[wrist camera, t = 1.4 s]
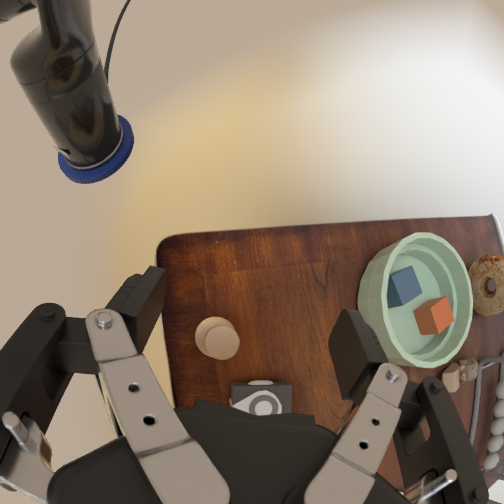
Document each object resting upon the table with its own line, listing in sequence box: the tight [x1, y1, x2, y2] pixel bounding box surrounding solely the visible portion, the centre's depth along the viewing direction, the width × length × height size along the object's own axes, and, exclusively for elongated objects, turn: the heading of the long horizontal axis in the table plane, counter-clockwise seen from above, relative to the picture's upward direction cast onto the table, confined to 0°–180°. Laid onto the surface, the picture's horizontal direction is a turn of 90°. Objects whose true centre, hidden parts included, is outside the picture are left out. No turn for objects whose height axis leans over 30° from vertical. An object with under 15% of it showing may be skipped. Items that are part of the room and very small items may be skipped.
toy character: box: [442, 358, 478, 392], centre depth 33 cm, size 4×8×6 cm, turn 100°
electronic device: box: [230, 380, 292, 415], centre depth 28 cm, size 7×3×15 cm
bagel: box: [468, 254, 504, 316], centre depth 35 cm, size 10×4×10 cm, turn 11°
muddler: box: [195, 317, 240, 360], centre depth 25 cm, size 4×4×16 cm
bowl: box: [357, 232, 473, 368], centre depth 34 cm, size 18×18×6 cm
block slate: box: [387, 265, 423, 308], centre depth 35 cm, size 4×4×4 cm
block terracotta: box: [413, 296, 454, 335], centre depth 34 cm, size 4×4×4 cm
